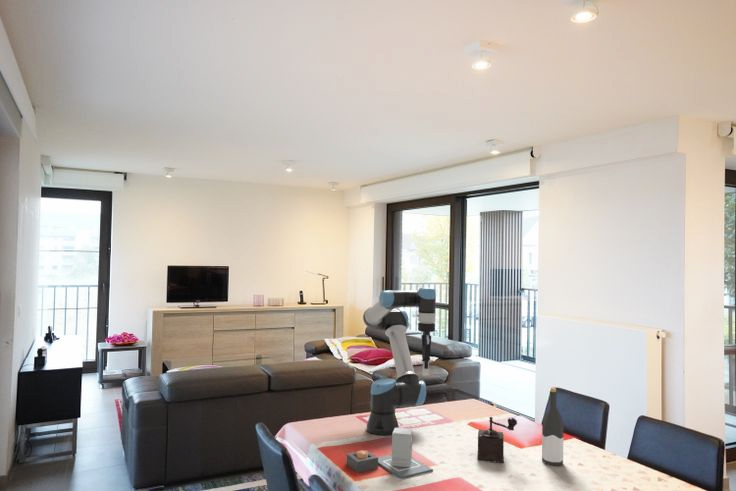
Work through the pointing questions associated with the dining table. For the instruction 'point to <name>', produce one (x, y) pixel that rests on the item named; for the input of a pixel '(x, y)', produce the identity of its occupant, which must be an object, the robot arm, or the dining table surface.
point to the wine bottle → (552, 434)
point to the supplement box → (401, 447)
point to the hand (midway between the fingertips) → (425, 375)
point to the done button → (362, 454)
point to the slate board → (403, 472)
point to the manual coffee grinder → (493, 442)
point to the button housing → (362, 462)
